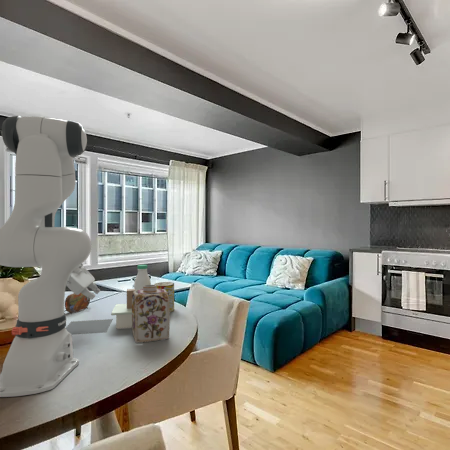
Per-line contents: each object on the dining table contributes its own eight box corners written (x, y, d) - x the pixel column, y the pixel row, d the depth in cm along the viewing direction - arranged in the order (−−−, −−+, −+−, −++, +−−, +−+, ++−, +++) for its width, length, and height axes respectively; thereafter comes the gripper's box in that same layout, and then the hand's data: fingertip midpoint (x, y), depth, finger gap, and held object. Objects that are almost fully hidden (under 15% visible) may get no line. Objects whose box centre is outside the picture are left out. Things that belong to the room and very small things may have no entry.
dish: (143, 328, 121) (143, 312, 121) (116, 329, 119) (116, 313, 119) (145, 320, 131) (144, 305, 131) (119, 321, 129) (119, 307, 129)
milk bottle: (147, 309, 147) (146, 266, 147) (131, 309, 148) (131, 266, 148) (153, 305, 155) (153, 264, 154) (138, 304, 156) (138, 263, 156)
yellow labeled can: (150, 312, 143) (150, 285, 143) (159, 306, 152) (159, 281, 152) (169, 313, 141) (169, 286, 141) (177, 308, 150) (177, 282, 150)
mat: (106, 333, 116) (106, 332, 116) (58, 336, 113) (58, 335, 113) (112, 320, 132) (112, 319, 132) (71, 322, 128) (71, 321, 128)
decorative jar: (134, 344, 105) (134, 289, 105) (131, 333, 116) (131, 283, 116) (170, 339, 110) (170, 287, 110) (164, 328, 121) (163, 281, 121)
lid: (147, 313, 120) (147, 292, 120) (111, 315, 118) (111, 294, 118) (148, 304, 133) (148, 285, 133) (116, 306, 130) (115, 287, 130)
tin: (69, 315, 139) (69, 295, 139) (63, 314, 140) (63, 295, 140) (90, 306, 154) (90, 288, 154) (85, 305, 154) (84, 288, 154)
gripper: (67, 268, 111) (97, 294, 113) (81, 261, 131) (106, 284, 133) (53, 281, 110) (83, 308, 112) (70, 272, 130) (95, 295, 132)
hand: (96, 295), depth 123 cm, fingers open, 8 cm apart
